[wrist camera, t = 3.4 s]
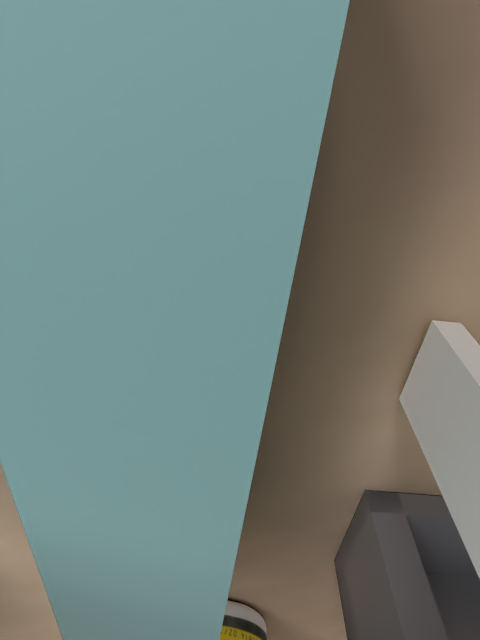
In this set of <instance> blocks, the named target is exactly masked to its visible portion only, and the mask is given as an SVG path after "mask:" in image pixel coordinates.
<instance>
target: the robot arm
mask: <svg viewBox="0 0 480 640" xmlns="http://www.w3.org/2000/svg"><path fill="white" fill-rule="evenodd" d="M399 400H400V402H401V404H402V406H403V409H404V411H405V413H406V415H407V418H408V420H409V422H410V424H411V427H412V429H413V431H414V433H415V435H416V438H417V440H418V442H419V444H420V447H421V449H422V451H423V453H424V456H425V458H426V460H427V462H428V465H429V467H430V469H431V471H432V474H433V476H434V478H435V480H436V483H437V485H438V487H439V489H440V491H441V494H442V496H443V498H444V500H445V503H446V505H447V507H448V509H449V512H450V514H451V516H452V518H453V521H454V523H455V525H456V527H457V530H458V532H459V534H460V536H461V538H462V541H463V543H464V545H465V547H466V550H467V552H468V554H469V556H470V559H471V561H472V563H473V565H474V568H475V570H476V572H477V574H478V577H479V579H480V345H479V344H478V343H477V341H476V340H475V339H474V338H473V337H472V335H471V334H470V333H469V332H468V331H467V329H466V328H465V327H464V326H463V325H462V323H455V322H445V321H434V320H432V322H431V324H430V326H429V329H428V331H427V334H426V336H425V338H424V341H423V343H422V345H421V348H420V350H419V353H418V355H417V357H416V360H415V362H414V364H413V367H412V369H411V371H410V374H409V376H408V379H407V381H406V383H405V386H404V388H403V390H402V393H401V395H400V398H399Z"/></svg>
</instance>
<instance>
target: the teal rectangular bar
mask: <svg viewBox="0 0 480 640" xmlns="http://www.w3.org/2000/svg"><path fill="white" fill-rule="evenodd" d="M349 2H350V0H0V462H1V465H2V468H3V471H4V474H5V477H6V479H7V482H8V485H9V488H10V491H11V493H12V496H13V499H14V502H15V505H16V508H17V510H18V513H19V516H20V519H21V522H22V525H23V527H24V530H25V533H26V536H27V539H28V542H29V544H30V547H31V550H32V553H33V556H34V558H35V561H36V564H37V567H38V570H39V573H40V575H41V578H42V581H43V584H44V587H45V590H46V592H47V595H48V598H49V601H50V604H51V606H52V609H53V612H54V615H55V618H56V621H57V623H58V626H59V629H60V632H61V635H62V638H63V640H219V639H220V634H221V629H222V624H223V620H224V615H225V610H226V605H227V600H228V595H229V590H230V585H231V580H232V575H233V571H234V566H235V561H236V556H237V551H238V546H239V541H240V536H241V531H242V526H243V522H244V517H245V512H246V507H247V502H248V497H249V492H250V487H251V482H252V477H253V473H254V468H255V463H256V458H257V453H258V448H259V443H260V438H261V433H262V428H263V424H264V419H265V414H266V409H267V404H268V399H269V394H270V389H271V384H272V380H273V375H274V370H275V365H276V360H277V355H278V350H279V345H280V340H281V335H282V331H283V326H284V321H285V316H286V311H287V306H288V301H289V296H290V291H291V286H292V282H293V277H294V272H295V267H296V262H297V257H298V252H299V247H300V242H301V237H302V233H303V228H304V223H305V218H306V213H307V208H308V203H309V198H310V193H311V188H312V184H313V179H314V174H315V169H316V164H317V159H318V154H319V149H320V144H321V139H322V135H323V130H324V125H325V120H326V115H327V110H328V105H329V100H330V95H331V90H332V86H333V81H334V76H335V71H336V66H337V61H338V56H339V51H340V46H341V41H342V37H343V32H344V27H345V22H346V17H347V12H348V7H349Z"/></svg>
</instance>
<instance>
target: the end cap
mask: <svg viewBox="0 0 480 640" xmlns="http://www.w3.org/2000/svg"><path fill="white" fill-rule="evenodd" d="M334 561H335V567H336V573H337V579H338V585H339V591H340V597H341V603H342V609H343V615H344V621H345V627H346V633H347V639H348V640H480V579H479V577H478V574H477V572H476V570H475V568H474V565H473V563H472V561H471V559H470V556H469V554H468V552H467V550H466V547H465V545H464V543H463V541H462V538H461V536H460V534H459V532H458V530H457V527H456V525H455V523H454V521H453V518H452V516H451V514H450V512H449V509H448V507H447V505H446V503H445V500H444V498H443V496H430V495H418V494H405V493H393V492H380V491H368V490H365V492H364V494H363V496H362V498H361V501H360V503H359V505H358V508H357V510H356V512H355V514H354V517H353V519H352V521H351V523H350V526H349V528H348V530H347V533H346V535H345V537H344V539H343V542H342V544H341V546H340V549H339V551H338V553H337V555H336V558H335V560H334Z"/></svg>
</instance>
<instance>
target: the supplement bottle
mask: <svg viewBox="0 0 480 640" xmlns="http://www.w3.org/2000/svg"><path fill="white" fill-rule="evenodd" d="M219 640H267V628H266V624H265V621H264V619H263V618H262V616H261V615H260V614H259V613H258V612H256V611H255V610H254V609H252V608H250V607H248V606H246V605H244V604H241V603H237V602H233V601H227V605H226V610H225V615H224V620H223V624H222V629H221V634H220V639H219Z"/></svg>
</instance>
